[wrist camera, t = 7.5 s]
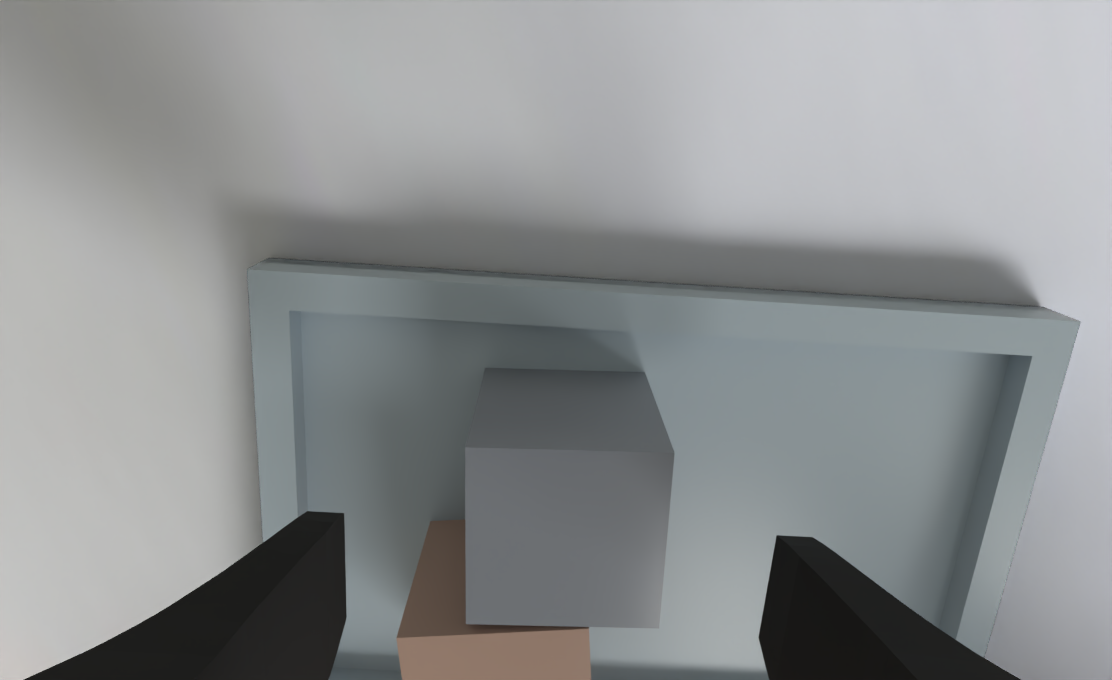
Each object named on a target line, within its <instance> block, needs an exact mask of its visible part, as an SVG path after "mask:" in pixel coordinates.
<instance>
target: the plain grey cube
mask: <svg viewBox="0 0 1112 680" xmlns="http://www.w3.org/2000/svg"><path fill="white" fill-rule="evenodd" d="M674 455H675V452H674V450H673V447H672V444H671V442H670V439H669V436H668V433H667V431H666V428H665V425H664V423H663V420H662V417H661V414H660V412H659V409H658V406H657V404H656V401H655V398H654V395H653V393H652V390H651V387H650V385H649V382H648V379H647V377H646V374H645V372H619V371H583V370H548V369H513V368H485V370H484V374H483V378H482V382H481V386H480V390H479V394H478V398H477V402H476V406H475V410H474V414H473V418H472V422H471V426H470V430H469V434H468V438H467V442H466V446H465V557H466V624H478V625H524V626H569V627H615V628H659V624H660V613H661V601H662V590H663V579H664V568H665V556H666V545H667V534H668V523H669V511H670V500H671V489H672V478H673V466H674Z"/></svg>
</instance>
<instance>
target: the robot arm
mask: <svg viewBox="0 0 1112 680" xmlns="http://www.w3.org/2000/svg"><path fill="white" fill-rule="evenodd" d="M346 618H347V613H346V568H345V523H344V513H334V512H314V511H307V512H305V513H304V514H302V515H301V516H299V517H298V518H296V519H295V520H293V521H292V522H291V523H289V524H288V525H286V526H285V527H284V528H282V529H281V530H280V531H278V532H277V533H276V534H274V535H273V536H272V537H270V538H269V539H267V540H266V541H265V542H263V543H262V544H261V545H259V546H258V547H257V548H255V549H254V550H252V551H251V552H250V553H248V554H247V555H245V556H244V557H243V558H241V559H240V560H238V561H237V562H236V563H234V564H233V565H231V566H230V567H229V568H227V569H226V570H224V571H223V572H221V573H220V574H218V575H217V576H215V577H214V578H212V579H211V580H209V581H208V582H206V583H205V584H203V585H201V586H200V587H198V588H197V589H195V590H194V591H192V592H191V593H189V594H188V595H186V596H184V597H183V598H181V599H180V600H178V601H177V602H175V603H174V604H172V605H171V606H169V607H167V608H166V609H164V610H162V611H161V612H159V613H157V614H156V615H154V616H152V617H150V618H149V619H147V620H145V621H143V622H141V623H140V624H138V625H136V626H134V627H132V628H131V629H129V630H127V631H125V632H123V633H121V634H119V635H117V636H115V637H114V638H112V639H110V640H108V641H106V642H104V643H102V644H100V645H98V646H96V647H94V648H92V649H90V650H88V651H86V652H84V653H82V654H79V655H77V656H75V657H73V658H71V659H68V660H66V661H64V662H62V663H60V664H57V665H55V666H53V667H51V668H49V669H46V670H44V671H42V672H40V673H38V674H35V675H33V676H31V677H29V678H27V679H24V680H328V679H329V677H330V674H331V671H332V668H333V664H334V661H335V658H336V654H337V651H338V647H339V644H340V640H341V637H342V633H343V629H344V626H345V622H346ZM758 638H759V642H760V646H761V650H762V654H763V658H764V662H765V666H766V670H767V674H768V677H769V680H1020V679H1019V678H1017V677H1015V676H1014V675H1012V674H1010V673H1008V672H1007V671H1005V670H1003V669H1001V668H1000V667H998V666H996V665H994V664H993V663H991V662H990V661H988V660H986V659H985V658H983V657H982V656H980V655H978V654H977V653H975V652H974V651H972V650H970V649H969V648H967V647H966V646H964V645H963V644H961V643H960V642H958V641H957V640H955V639H954V638H952V637H951V636H949V635H948V634H946V633H945V632H943V631H942V630H940V629H939V628H937V627H936V626H934V625H933V624H932V623H930V622H929V621H927V620H926V619H924V618H923V617H922V616H920V615H919V614H917V613H916V612H915V611H913V610H912V609H910V608H909V607H908V606H906V605H905V604H904V603H902V602H901V601H899V600H898V599H897V598H895V597H894V596H893V595H891V594H890V593H889V592H887V591H886V590H885V589H883V588H882V587H881V586H879V585H878V584H877V583H875V582H874V581H873V580H871V579H870V578H869V577H867V576H866V575H865V574H863V573H862V572H861V571H859V570H858V569H857V568H855V567H854V566H853V565H852V564H850V563H849V562H848V561H846V560H845V559H843V558H842V557H841V556H839V555H838V554H837V553H835V552H834V551H833V550H831V549H830V548H828V547H827V546H826V545H824V544H823V543H821V542H820V541H818V540H816V539H815V538H813V537H801V536H781V535H777V536H776V541H775V547H774V553H773V558H772V564H771V570H770V575H769V581H768V586H767V592H766V598H765V603H764V609H763V615H762V620H761V626H760V631H759V637H758Z"/></svg>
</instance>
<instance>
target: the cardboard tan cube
mask: <svg viewBox="0 0 1112 680" xmlns="http://www.w3.org/2000/svg"><path fill="white" fill-rule="evenodd" d="M396 639H397V647H398V654H399V661H400V669H401V676H402V680H591V664H590V641H589V627H569V626H524V625H478V624H466V557H465V519H463V520H442V521H430V524H429V527H428V531H427V534H426V538H425V541H424V545H423V548H422V551H421V555H420V558H419V562H418V565H417V569H416V572H415V576H414V579H413V582H412V586H411V589H410V593H409V596H408V600H407V603H406V606H405V610H404V613H403V617H402V620H401V624H400V627H399V631H398V634H397V637H396Z"/></svg>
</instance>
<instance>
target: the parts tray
mask: <svg viewBox="0 0 1112 680" xmlns="http://www.w3.org/2000/svg"><path fill="white" fill-rule="evenodd" d="M247 279H248V296H249V313H250V330H251V347H252V364H253V381H254V398H255V416H256V433H257V450H258V467H259V484H260V501H261V518H262V535H263V542H265V541H266V540H267V539H269V538H270V537H272V536H273V535H274V534H276V533H277V532H278V531H280V530H281V529H282V528H284V527H285V526H286V525H288V524H289V523H291V522H292V521H293V520H295V519H296V518H298V517H299V516H301V515H302V514H304V513H305V512H307V511H314V512H334V513H344V523H345V568H346V613H347V618H346V622H345V626H344V629H343V633H342V637H341V640H340V644H339V647H338V651H337V654H336V658H335V661H334V664H333V668H332V671H331V674H330V677H329V679H328V680H402V676H401V669H400V661H399V654H398V647H397V639H396V637H397V634H398V631H399V627H400V624H401V620H402V617H403V613H404V610H405V606H406V603H407V600H408V596H409V593H410V589H411V586H412V582H413V579H414V576H415V572H416V569H417V565H418V562H419V558H420V555H421V551H422V548H423V545H424V541H425V538H426V534H427V531H428V527H429V524H430V521H442V520H463V519H465V446H466V442H467V438H468V434H469V430H470V426H471V422H472V418H473V414H474V410H475V406H476V402H477V398H478V394H479V390H480V386H481V382H482V378H483V374H484V370H485V368H513V369H548V370H583V371H619V372H645V374H646V377H647V379H648V382H649V385H650V387H651V390H652V393H653V395H654V398H655V401H656V404H657V406H658V409H659V412H660V414H661V417H662V420H663V423H664V425H665V428H666V431H667V433H668V436H669V439H670V442H671V444H672V447H673V450H674V452H675V455H674V466H673V478H672V489H671V500H670V511H669V523H668V534H667V545H666V556H665V568H664V579H663V590H662V601H661V613H660V624H659V628H615V627H589V641H590V664H591V680H769V677H768V674H767V670H766V666H765V662H764V658H763V654H762V650H761V646H760V642H759V638H758V637H759V631H760V626H761V620H762V615H763V609H764V603H765V598H766V592H767V586H768V581H769V575H770V570H771V564H772V558H773V553H774V547H775V541H776V536H777V535H781V536H801V537H813V538H815V539H816V540H818V541H820V542H821V543H823V544H824V545H826V546H827V547H828V548H830V549H831V550H833V551H834V552H835V553H837V554H838V555H839V556H841V557H842V558H843V559H845V560H846V561H848V562H849V563H850V564H852V565H853V566H854V567H855V568H857V569H858V570H859V571H861V572H862V573H863V574H865V575H866V576H867V577H869V578H870V579H871V580H873V581H874V582H875V583H877V584H878V585H879V586H881V587H882V588H883V589H885V590H886V591H887V592H889V593H890V594H891V595H893V596H894V597H895V598H897V599H898V600H899V601H901V602H902V603H904V604H905V605H906V606H908V607H909V608H910V609H912V610H913V611H915V612H916V613H917V614H919V615H920V616H922V617H923V618H924V619H926V620H927V621H929V622H930V623H932V624H933V625H934V626H936V627H937V628H939V629H940V630H942V631H943V632H945V633H946V634H948V635H949V636H951V637H952V638H954V639H955V640H957V641H958V642H960V643H961V644H963V645H964V646H966V647H967V648H969V649H970V650H972V651H974V652H975V653H977V654H978V655H980V656H982V657H983V658H984V656H985V653H986V649H987V646H988V642H989V639H990V636H991V632H992V629H993V625H994V622H995V618H996V615H997V611H998V608H999V604H1000V601H1001V597H1002V594H1003V590H1004V587H1005V583H1006V580H1007V576H1008V573H1009V569H1010V566H1011V562H1012V559H1013V555H1014V552H1015V548H1016V545H1017V542H1018V538H1019V535H1020V531H1021V528H1022V524H1023V521H1024V517H1025V514H1026V510H1027V507H1028V503H1029V500H1030V496H1031V493H1032V489H1033V486H1034V482H1035V479H1036V475H1037V472H1038V468H1039V465H1040V461H1041V458H1042V454H1043V451H1044V448H1045V444H1046V441H1047V437H1048V434H1049V430H1050V427H1051V423H1052V420H1053V416H1054V413H1055V409H1056V406H1057V402H1058V399H1059V395H1060V392H1061V388H1062V385H1063V381H1064V378H1065V374H1066V371H1067V367H1068V364H1069V360H1070V357H1071V353H1072V350H1073V347H1074V343H1075V340H1076V336H1077V333H1078V329H1079V326H1080V322H1081V321H1078V320H1075V319H1073V318H1070V317H1068V316H1065V315H1063V314H1060V313H1058V312H1055V311H1053V310H1050V309H1047V308H1045V307H1038V306H1022V305H1006V304H990V303H975V302H959V301H943V300H927V299H911V298H895V297H879V296H864V295H848V294H832V293H816V292H800V291H784V290H768V289H753V288H737V287H721V286H705V285H689V284H673V283H657V282H642V281H626V280H610V279H594V278H578V277H562V276H546V275H530V274H515V273H499V272H483V271H467V270H451V269H435V268H419V267H404V266H388V265H372V264H356V263H340V262H324V261H308V260H293V259H277V258H268V259H266V260H264V261H262V262H260V263H258V264H256V265H254V266H252V267H251V268H249V269H247Z"/></svg>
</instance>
